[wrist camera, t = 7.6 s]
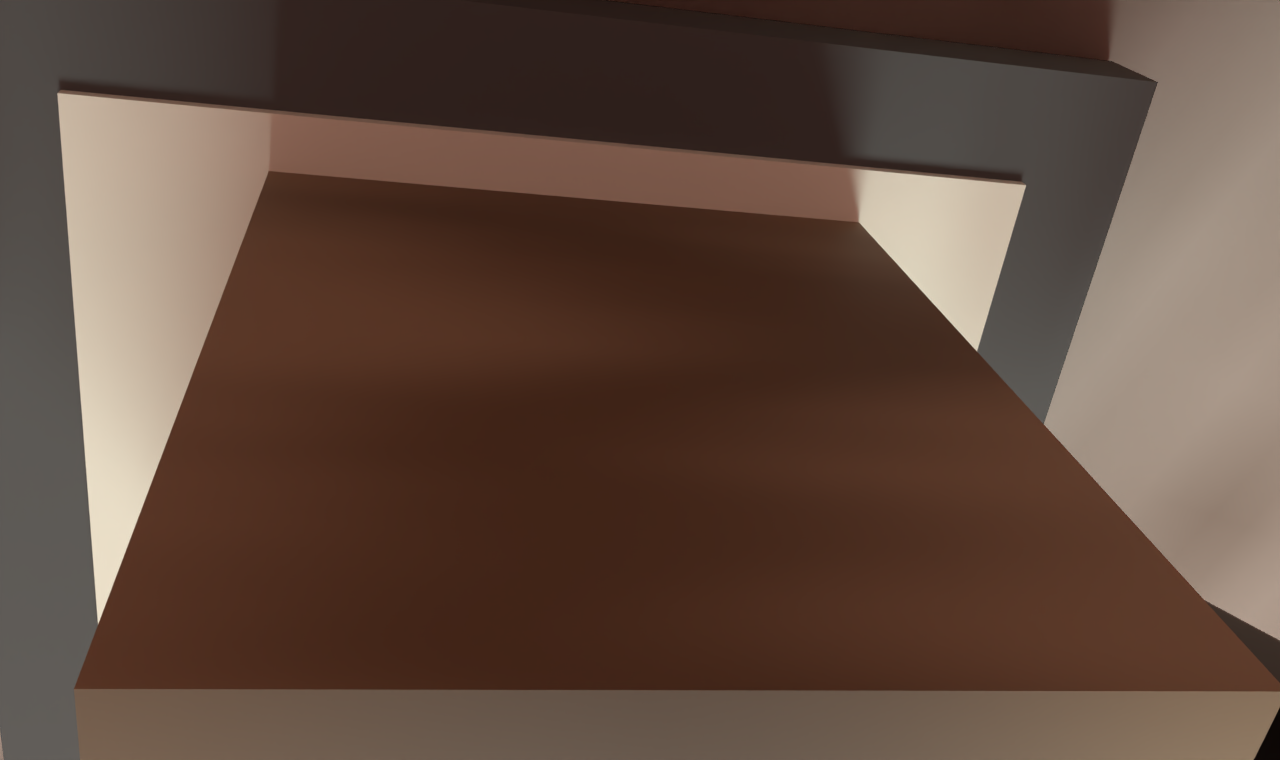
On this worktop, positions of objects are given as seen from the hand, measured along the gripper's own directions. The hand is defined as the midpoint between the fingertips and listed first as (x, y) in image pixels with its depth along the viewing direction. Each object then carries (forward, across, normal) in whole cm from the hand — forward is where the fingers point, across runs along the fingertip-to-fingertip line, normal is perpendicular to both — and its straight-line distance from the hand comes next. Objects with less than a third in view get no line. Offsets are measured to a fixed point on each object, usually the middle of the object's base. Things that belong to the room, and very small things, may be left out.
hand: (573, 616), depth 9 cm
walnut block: (+2, 0, 0) cm, 2 cm away
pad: (+3, 0, 0) cm, 3 cm away
